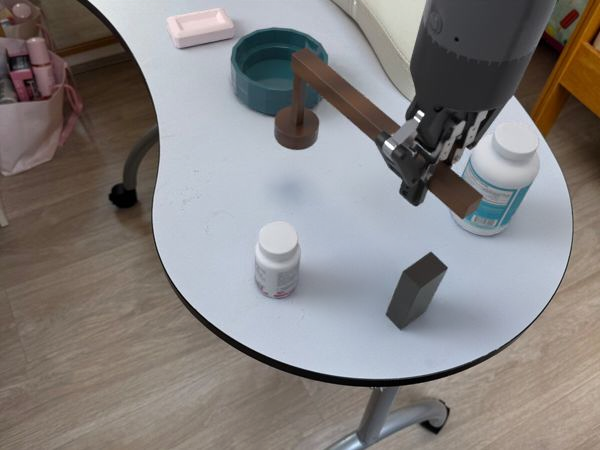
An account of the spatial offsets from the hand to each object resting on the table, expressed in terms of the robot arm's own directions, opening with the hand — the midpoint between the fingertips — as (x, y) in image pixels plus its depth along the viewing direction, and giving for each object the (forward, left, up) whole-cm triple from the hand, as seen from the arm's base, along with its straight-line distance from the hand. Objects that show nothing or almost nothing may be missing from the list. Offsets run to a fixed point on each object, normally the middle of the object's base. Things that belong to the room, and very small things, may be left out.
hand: (420, 191), depth 51 cm
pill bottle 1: (+11, +4, -18) cm, 21 cm away
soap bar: (+41, -29, -18) cm, 53 cm away
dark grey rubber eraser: (-3, +2, -17) cm, 18 cm away
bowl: (+25, -25, -17) cm, 39 cm away
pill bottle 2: (-7, -16, -18) cm, 24 cm away
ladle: (+6, -3, -7) cm, 10 cm away
